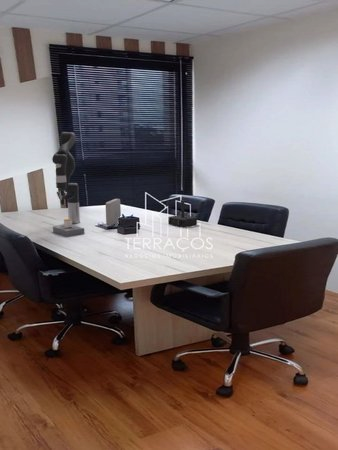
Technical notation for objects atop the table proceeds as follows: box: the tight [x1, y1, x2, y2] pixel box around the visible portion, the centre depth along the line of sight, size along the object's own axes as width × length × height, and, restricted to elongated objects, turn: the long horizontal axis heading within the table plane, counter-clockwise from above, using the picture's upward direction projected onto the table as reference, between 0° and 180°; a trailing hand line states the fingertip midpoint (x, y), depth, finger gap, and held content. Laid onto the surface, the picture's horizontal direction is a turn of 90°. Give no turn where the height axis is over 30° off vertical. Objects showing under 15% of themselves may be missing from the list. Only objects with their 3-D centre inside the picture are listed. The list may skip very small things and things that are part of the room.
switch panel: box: [52, 224, 85, 237], centre depth 316 cm, size 22×14×4 cm, turn 42°
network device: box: [105, 198, 122, 226], centre depth 343 cm, size 26×9×20 cm, turn 168°
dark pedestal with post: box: [167, 199, 198, 228], centre depth 341 cm, size 19×17×20 cm
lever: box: [63, 218, 73, 228], centre depth 315 cm, size 3×5×6 cm, turn 132°
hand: (62, 204), depth 317 cm, fingers closed
